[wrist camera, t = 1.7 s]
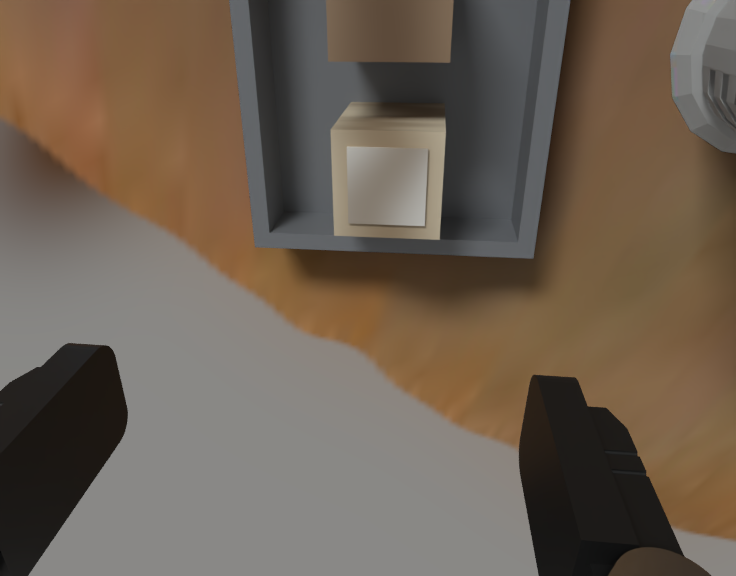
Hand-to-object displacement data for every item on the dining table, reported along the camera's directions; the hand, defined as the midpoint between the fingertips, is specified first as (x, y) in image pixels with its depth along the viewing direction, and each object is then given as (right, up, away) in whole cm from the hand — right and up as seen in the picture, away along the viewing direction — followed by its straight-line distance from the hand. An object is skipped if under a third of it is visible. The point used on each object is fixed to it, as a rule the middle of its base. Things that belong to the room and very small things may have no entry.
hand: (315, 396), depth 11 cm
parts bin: (+3, +12, +17) cm, 21 cm away
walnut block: (+2, +15, +14) cm, 21 cm away
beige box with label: (+2, +9, +18) cm, 20 cm away
